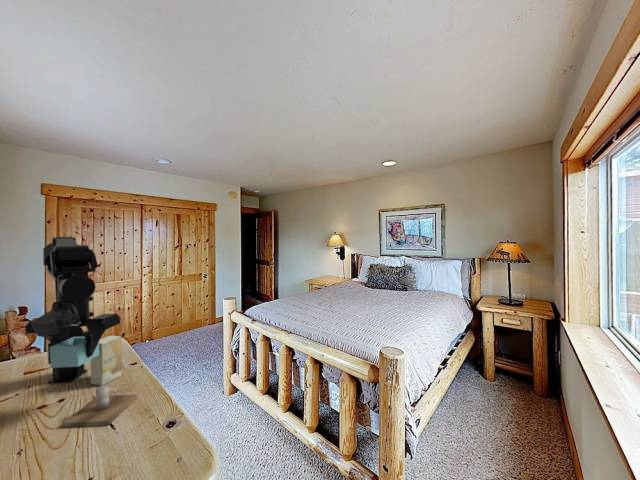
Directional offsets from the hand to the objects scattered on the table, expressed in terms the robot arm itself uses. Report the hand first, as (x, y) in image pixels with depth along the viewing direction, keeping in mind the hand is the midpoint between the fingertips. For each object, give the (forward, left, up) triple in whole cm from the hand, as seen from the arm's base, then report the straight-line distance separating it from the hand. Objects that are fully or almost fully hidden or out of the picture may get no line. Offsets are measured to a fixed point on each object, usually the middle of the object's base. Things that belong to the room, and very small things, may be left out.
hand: (76, 356), depth 67 cm
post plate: (+8, -2, -13) cm, 15 cm away
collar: (0, 0, -1) cm, 1 cm away
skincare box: (-2, +13, -13) cm, 18 cm away
